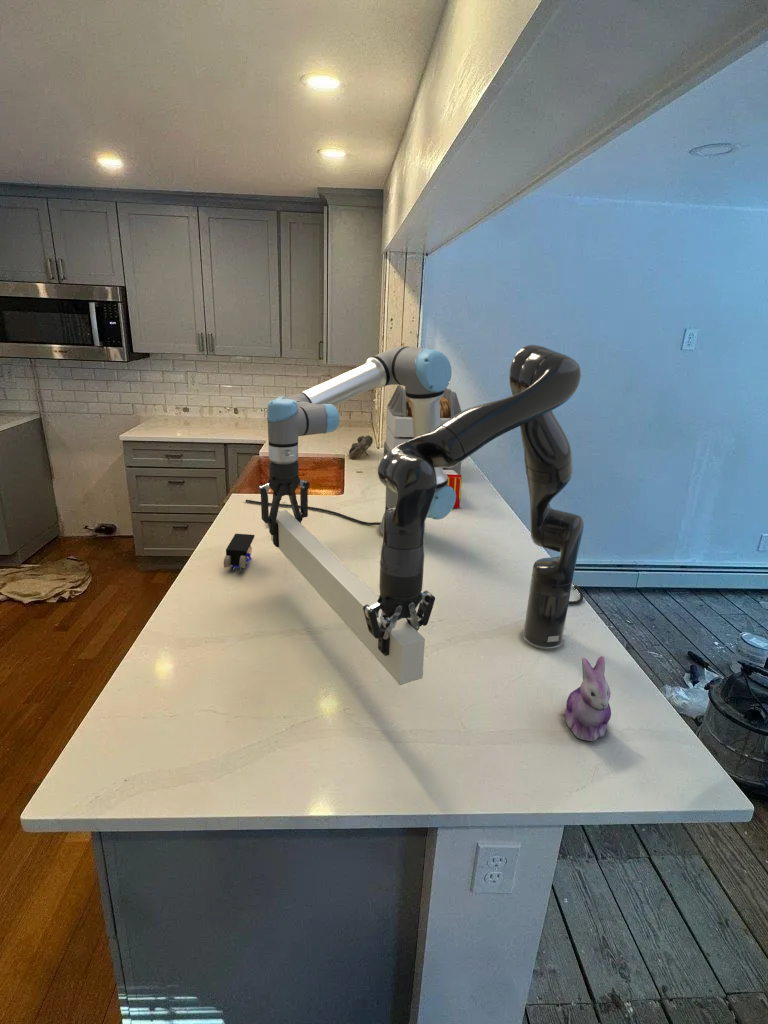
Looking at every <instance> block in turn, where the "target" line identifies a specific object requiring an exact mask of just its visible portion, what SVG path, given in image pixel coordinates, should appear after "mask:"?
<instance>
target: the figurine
mask: <svg viewBox="0 0 768 1024" xmlns="http://www.w3.org/2000/svg"><path fill="white" fill-rule="evenodd" d="M581 669H582V682H580V683H581V684H580V686H579V687H577V688H575V689H574V690H573V691H571V692H570V693H569V694H568V696H567V700H566V708H565V713H564V716H565V722H566V726H568V727H569V729H570V730H571V731H572V732H573V735H574V736H575V737H576V738H578V739H580V740H584V741H586V742H587V741H588V742H595V741H597V740H598V738H602V737H604V736H605V734H606V731H607V728H608V723H609V722H610V720H611V717H612V709H611V705H610V699H611V688H610V686H609V684H608V681H607V679H606V675H605V670H606V659H605V656H603V655H601V656H599V657H598V658H597V660H596V662H595V665H594V667H593V666H592V664H591V663H590V660H589V659H587V658H586V657H582V658H581Z"/></svg>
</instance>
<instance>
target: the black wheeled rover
mask: <svg viewBox="0 0 768 1024" xmlns="http://www.w3.org/2000/svg"><path fill="white" fill-rule="evenodd" d="M253 540H255V534H247V533H235V534H234V535H233V537H232V538H231V539H230V542H229V544H228V546H227V547H226V549H225V556H224V558H223V567H224V568H230V569H229V572H230V573H233V571H234V569H235V568H238V569H240V570H239V573H243V570H244V569H245V568H246V567H247V565H248V563H249V562H250V561H252V557H251V556H252V552H253V548H252V546H251V544H252V543H253Z"/></svg>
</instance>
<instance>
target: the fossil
mask: <svg viewBox="0 0 768 1024" xmlns="http://www.w3.org/2000/svg"><path fill="white" fill-rule="evenodd" d="M373 443H374V442H373V437H372V436H371V435H366V436H365V435H361V436H358V437H357V442H353V443H352V444H351V447H350V448H349V450H348V457H349V459H353V460H354V459H356V458H358V457H360V456H361V455H363V454H366V456H368V455H369V454H368V452H367V450H368V449H369V448H371V446H372V444H373Z"/></svg>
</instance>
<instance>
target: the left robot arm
mask: <svg viewBox="0 0 768 1024" xmlns="http://www.w3.org/2000/svg"><path fill="white" fill-rule="evenodd" d="M451 380H452V366H451V362H450V359H449V358H448V357H447V356H446V354H444V353H443V352H442V351H440V350H436V349H433V348H429V347H428V348H426V347H414V346H407V345H401V346H397V347H393V348H390V349H388V350H385V351H382V352H379V353H378V354H375V355H372V356H371V357H368V358H367V359H366V360H365V363H364V364H362V365H359V366H357V367H355V368H353V369H350V370H348V371H346V372H343V373H341V374H339V375H337V376H335V377H332V378H330V379H328V380H326V381H324V382H321V383H319V384H317V385H314V386H312V387H310V388H308V389H306V390H303V391H301V392H298V393H296V394H293V395H292V396H288V395H281V396H278V397H276V398H275V399H271V400H270V401H268V403H267V412H266V420H267V438H268V460H270V461H269V462H268V474H269V475H268V476H269V478H268V480H267V483H265V484H263V485H262V484H260V485H259V484H258V487H257V489H258V491H259V493H260V501H259V500H258V501H257V500H252V499H245V503H251V504H256V505H260V511H261V513H260V514H261V520H262V521H263V523H264V524H268V525H269V526H268V532H269V534H270V536H271V535H273V541H272V545H274V547H276V548H278V547H279V528H278V523H277V522H276V518H277V513H278V511H279V508H280V507H285V508H291V509H292V513H293V517H294V518H295V519H297V520H298V521H299V522H300V523H301V524H302V521H303V520H304V518H307V517H309V510H313V511H319V512H324V513H327V514H331V515H336V516H338V517H342V518H344V519H346V520H350V521H353V522H356V523H359V524H361V525H367V526H378V533H379V534H380V535H381V536H383V522H384V515H385V512H386V511H387V509H389V508H390V507H392V506H395V505H396V504H397V499H398V495H397V493H395V492H394V491H392V490H390V489H389V488H387V487H386V486H385V504H384V505H385V507H384V508H385V509H384V513H383V515H382V519H381V522H378V521H377V522H376V521H374V522H373V521H372V522H370V521H369V522H368V521H363V520H360V519H357V518H354V517H352V516H348V515H345V514H344V513H340V512H337V511H333V510H331V509H325V508H319V507H316V506H315V507H314V506H309V505H308V504H309V500H308V499H309V492H308V491H309V488H310V486H311V484H310V482H309V481H308V480H306V479H301V478H300V476H299V475H300V473H299V471H300V469H299V466H300V465H299V461H298V460H299V437H304V436H312V435H321V434H324V435H325V434H328V433H333V432H335V431H336V430H337V429H338V428H339V425H340V413H339V411H338V409H337V407H336V406H338V405H341V404H343V403H344V402H347V401H349V400H351V399H353V398H355V397H358V396H360V395H361V394H364V393H366V392H368V391H370V390H372V389H374V388H377V389H383V388H385V387H387V386H392V385H393V386H394V385H397V386H398V385H400V386H403V387H404V390H405V393H406V397H407V398H408V399H409V400H410V401H411V407H412V421H413V436H414V438H416V437H419V436H421V435H424V434H427V433H430V432H432V431H433V430H435V429H436V428H437V427H439V426H440V425H441V423H440V402H439V400H440V398H441V397H442V396H443V395H444V389H446V388H447V389H448V387H449V384H450V383H449V382H450V381H451ZM434 469H435V472H436V477H437V486H436V491H435V494H434V497H433V500H432V503H431V506H430V510H429V512H428V515H427V517H426V519H427V518H428V519H432V520H436V521H439V520H442V519H444V518H445V517H447V516H448V515H449V514H450V513H451V511H452V510H453V509H454V508H453V507H454V504H455V501H456V493H455V490H454V489H453V488H452V487H449V486H448V476H447V475H446V474H445V473H444V472H443V468H440V467H437V468H434ZM298 487H299V502H298V499H297V493H296V490H297V488H298ZM270 489H271V491H272V499H271V502H269V495H268V493H269V491H270ZM284 496H288V499H289V502H290V504H287V503H281V501H282V498H283V497H284ZM298 503H300V504H298ZM269 506H270V508H269Z"/></svg>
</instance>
